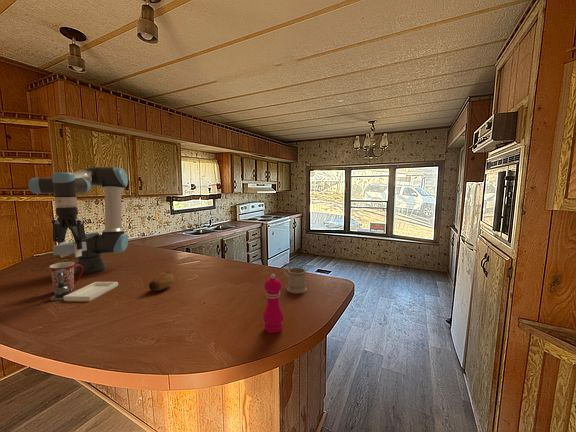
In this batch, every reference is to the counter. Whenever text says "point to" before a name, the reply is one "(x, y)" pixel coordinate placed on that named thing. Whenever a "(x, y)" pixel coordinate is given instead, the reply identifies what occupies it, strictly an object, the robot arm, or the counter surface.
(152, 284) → the potato
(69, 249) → the windowed blue block
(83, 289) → the tray
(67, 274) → the mug
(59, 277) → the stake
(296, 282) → the mug
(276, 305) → the pepper mill
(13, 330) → the counter surface
